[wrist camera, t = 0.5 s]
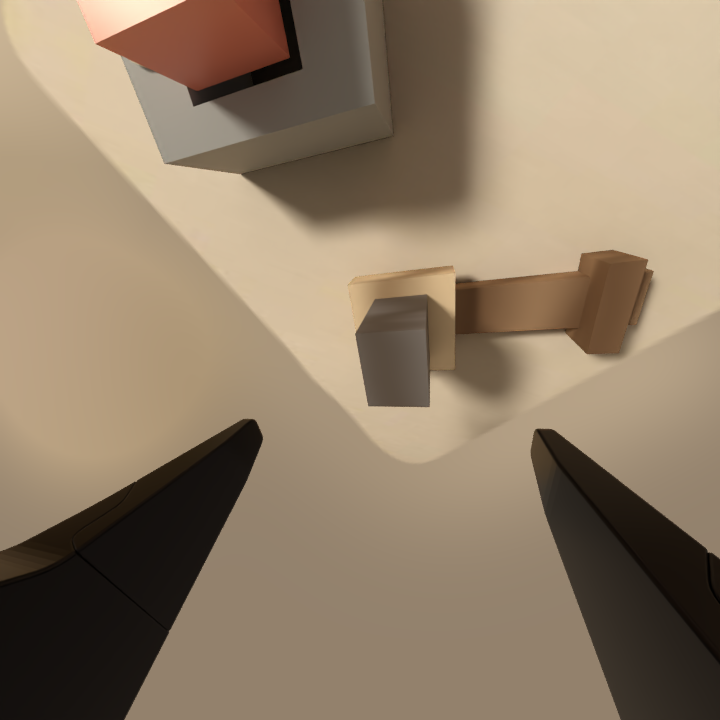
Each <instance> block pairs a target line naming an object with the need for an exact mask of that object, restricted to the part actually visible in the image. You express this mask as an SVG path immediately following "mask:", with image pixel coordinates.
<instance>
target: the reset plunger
mask: <svg viewBox="0 0 720 720" xmlns="http://www.w3.org/2000/svg"><path fill="white" fill-rule="evenodd" d="M77 2H78V4H79V7H80V9H81V11H82V14H83V16H84V18H85V21H86V23H87V25H88V28H89V30H90V32H91V35H92V37H93V39H94V42H95V44H97V45H99V46H101V47H104V48H106V49H108V50H110V51H112V52H114V53H116V54H119V55H121V56H123V57H125V58H127V59H129V60H131V61H133V62H136V63H138V64H140V65H142V66H144V67H146V68H148V69H151V70H153V71H155V72H157V73H159V74H161V75H163V76H166V77H168V78H170V79H172V80H174V81H176V82H178V83H180V84H183V85H185V86H187V87H189V88H191V89H193V90H195V91H199V90H202V89H205V88H207V87H210V86H213V85H216V84H218V83H221V82H224V81H227V80H230V79H232V78H235V77H238V76H241V75H243V74H246V73H249V72H252V71H254V70H257V69H260V68H263V67H265V66H268V65H271V64H274V63H276V62H279V61H282V60H285V59H288V58H290V55H289V50H288V45H287V40H286V35H285V30H284V25H283V20H282V15H281V10H280V5H279V0H77Z"/></svg>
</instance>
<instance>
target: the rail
mask: <svg viewBox="0 0 720 720" xmlns="http://www.w3.org/2000/svg"><path fill="white" fill-rule="evenodd" d="M647 262H648V259H644V258H640V257H637V256H633V255H629V254H626V253H622V252H618V251H615V250H609V251H600V252H591V253H583V254H581V259H580V264H579V269H578V271H575V272H565V273H555V274H545V275H535V276H526V277H516V278H506V279H496V280H486V281H476V282H466V283H456V284H455V334H469V333H488V332H506V331H525V330H543V329H562V328H566V332H565V333H566V334H567V335H568V336H569V337H570V338H571V339H572V340H573V341H574V342H575V343H576V344H577V345H578V346H579V347H580V348H581V349H582V350H583V351H584V352H585V353H587V354H602V353H619V351H620V348H621V345H622V341H623V338H624V335H625V332H626V329H627V326H628V325H636V323H637V320H638V317H639V314H640V311H641V308H642V305H643V302H644V299H645V296H646V293H647V290H648V287H649V284H650V281H651V278H652V275H653V272H654V271H652V270H649V269H645V268H646V265H647Z"/></svg>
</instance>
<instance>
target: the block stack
mask: <svg viewBox="0 0 720 720" xmlns="http://www.w3.org/2000/svg"><path fill="white" fill-rule="evenodd" d="M348 289H349V295H350V301H351V306H352V312H353V317H354V323H355V329H356V333H355V335H356V341H357V346H358V352H359V357H360V363H361V368H362V374H363V379H364V385H365V390H366V396H367V402H368V406H392V407H430V370H455V271H454V268H453V266H445V267H436V268H427V269H419V270H410V271H402V272H393V273H385V274H376V275H368V276H359V277H355V278H354V279H353V280H352V281H351V282H350V283H349V284H348Z"/></svg>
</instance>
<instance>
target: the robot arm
mask: <svg viewBox="0 0 720 720" xmlns="http://www.w3.org/2000/svg"><path fill="white" fill-rule="evenodd" d="M262 440H263V436H262V433H261V431H260V429H259V426H258V424H257V422H256V421H255V420H254V419H243V420H241V421H239V422H237V423H236V424H234V425H232V426H231V427H229V428H227V429H225V430H224V431H222V432H220V433H218V434H217V435H215V436H213V437H211V438H210V439H208V440H206V441H205V442H203V443H201V444H199V445H198V446H196V447H194V448H192V449H191V450H189V451H187V452H186V453H184V454H182V455H180V456H179V457H177V458H175V459H174V460H172V461H170V462H168V463H166V464H165V465H163V466H161V467H160V468H158V469H156V470H154V471H153V472H151V473H150V474H147V475H146V476H144V477H142V478H141V479H139V480H137V482H134V483H132V484H130V485H128V486H127V487H125V488H123V489H121V490H120V491H118V492H116V493H115V494H113V495H111V496H109V497H107V498H105V499H104V500H102V501H100V502H98V503H96V504H94V505H93V506H91V507H89V508H87V509H85V510H83V511H81V512H80V513H78V514H76V515H74V516H72V517H70V518H68V519H66V520H64V521H62V522H60V523H59V524H57V525H55V526H53V527H51V528H49V529H47V530H45V531H43V532H41V533H40V534H38V535H36V536H34V537H32V538H30V539H28V540H26V541H24V542H22V543H20V544H18V545H16V546H13V547H11V548H8V549H6V550H3V551H0V720H124V719H125V717H126V715H127V714H128V712H129V710H130V708H131V706H132V704H133V702H134V700H135V698H136V696H137V694H138V692H139V690H140V688H141V686H142V684H143V682H144V680H145V678H146V676H147V675H148V672H149V671H150V669H151V667H152V665H153V663H154V661H155V659H156V657H157V655H158V653H159V651H160V649H161V647H162V645H163V643H164V641H165V639H166V637H167V635H168V634H169V630H170V629H171V627H172V625H173V623H174V621H175V620H176V618H177V616H178V614H179V612H180V610H181V608H182V606H183V604H184V602H185V600H186V598H187V596H188V594H189V592H190V590H191V588H192V586H193V585H194V583H195V581H196V579H197V577H198V575H199V573H200V571H201V569H202V567H203V565H204V563H205V561H206V559H207V557H208V555H209V553H210V551H211V549H212V547H213V546H214V543H215V542H216V540H217V538H218V536H219V534H220V532H221V530H222V528H223V526H224V524H225V522H226V520H227V518H228V516H229V514H230V513H231V511H232V509H233V507H234V505H235V503H236V501H237V499H238V497H239V495H240V493H241V491H242V489H243V487H244V485H245V483H246V481H247V479H248V476H249V474H250V471H251V469H252V466H253V464H254V462H255V459H256V456H257V454H258V452H259V449H260V447H261V444H262ZM531 458H532V463H533V467H534V471H535V475H536V479H537V483H538V487H539V491H540V495H541V500H542V504H543V507H544V511H545V515H546V517H547V521H548V523H549V526H550V529H551V532H552V534H553V537H554V540H555V543H556V545H557V548H558V551H559V553H560V556H561V559H562V561H563V564H564V567H565V570H566V572H567V575H568V578H569V580H570V583H571V586H572V588H573V591H574V594H575V597H576V599H577V602H578V605H579V607H580V610H581V613H582V616H583V618H584V621H585V624H586V626H587V629H588V632H589V635H590V637H591V640H592V643H593V646H594V648H595V651H596V654H597V656H598V659H599V662H600V664H601V667H602V670H603V672H604V675H605V678H606V681H607V683H608V686H609V689H610V692H611V694H612V697H613V700H614V702H615V705H616V708H617V710H618V713H619V716H620V719H621V720H720V559H719V558H718V557H717V556H715V555H714V554H713V553H708V552H707V549H706V548H705V547H704V546H702V545H701V544H700V543H699V542H697V541H696V540H695V539H693V538H692V537H691V536H689V535H688V534H687V533H686V532H684V531H683V530H682V529H680V528H679V527H678V526H677V525H675V524H674V523H673V522H672V521H670V520H669V519H668V518H666V517H665V516H664V515H663V514H661V513H660V512H659V511H657V510H656V509H655V508H654V507H652V506H651V505H650V504H648V503H647V502H646V501H645V500H643V499H642V498H641V497H639V496H638V495H637V494H636V493H634V492H633V491H632V490H630V489H629V488H628V487H627V486H625V485H624V484H623V483H621V482H620V481H619V480H618V479H616V478H615V477H614V476H612V475H611V474H610V473H609V472H607V471H606V470H605V469H603V468H602V467H601V466H599V465H598V464H597V463H596V462H594V461H593V460H592V459H591V458H589V457H588V456H587V455H585V454H584V453H583V452H582V451H580V450H579V449H578V448H576V447H575V446H574V445H573V444H571V443H570V442H569V441H567V440H566V439H565V438H564V437H562V436H561V435H560V434H558V433H557V432H556V431H554V430H552V429H536V430H535V431H534V435H533V441H532V447H531Z"/></svg>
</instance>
